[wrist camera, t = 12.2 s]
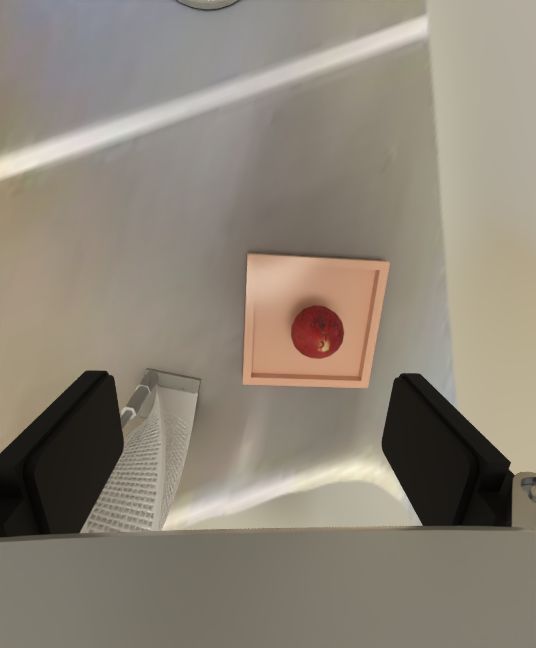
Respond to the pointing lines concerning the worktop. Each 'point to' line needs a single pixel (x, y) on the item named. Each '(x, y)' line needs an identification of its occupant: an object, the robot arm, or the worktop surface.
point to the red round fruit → (317, 332)
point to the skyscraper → (148, 456)
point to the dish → (302, 292)
